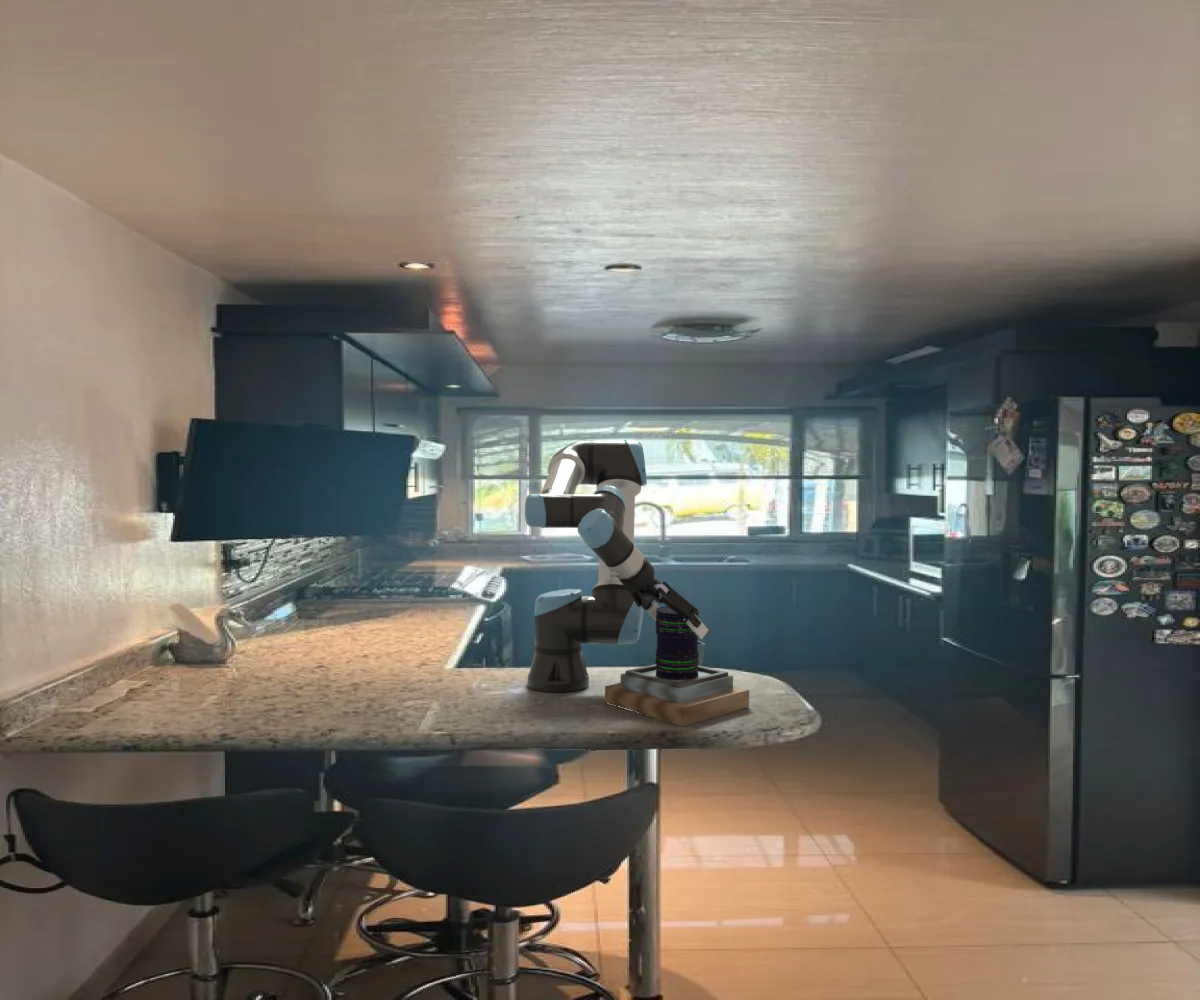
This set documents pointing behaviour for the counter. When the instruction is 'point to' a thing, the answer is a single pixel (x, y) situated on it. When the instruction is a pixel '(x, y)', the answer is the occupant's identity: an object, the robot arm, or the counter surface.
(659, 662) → the dark blue cylinder
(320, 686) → the counter surface
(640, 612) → the robot arm
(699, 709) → the tower base
